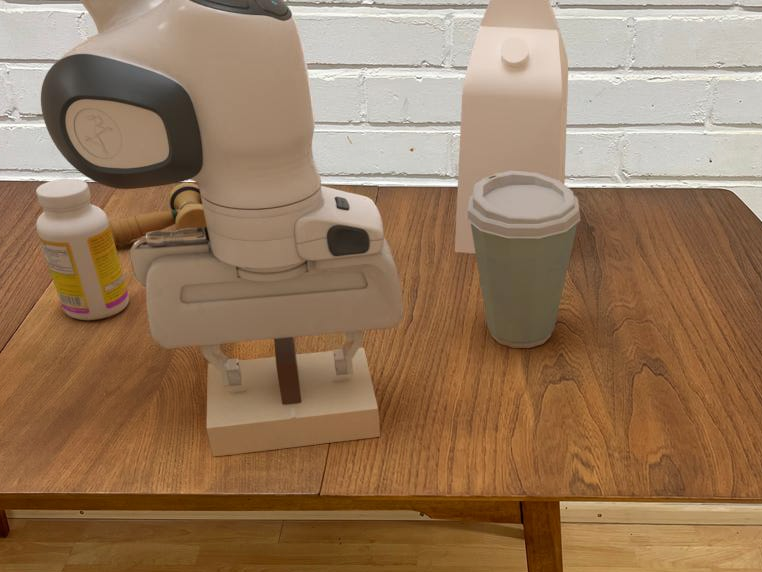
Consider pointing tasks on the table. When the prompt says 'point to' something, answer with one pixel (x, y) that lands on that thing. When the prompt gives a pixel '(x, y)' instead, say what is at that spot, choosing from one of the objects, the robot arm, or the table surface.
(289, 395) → the brown box red tab
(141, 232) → the kendama
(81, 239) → the supplement bottle
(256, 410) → the panel
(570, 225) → the disposable coffee cup
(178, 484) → the table surface
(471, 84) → the milk
